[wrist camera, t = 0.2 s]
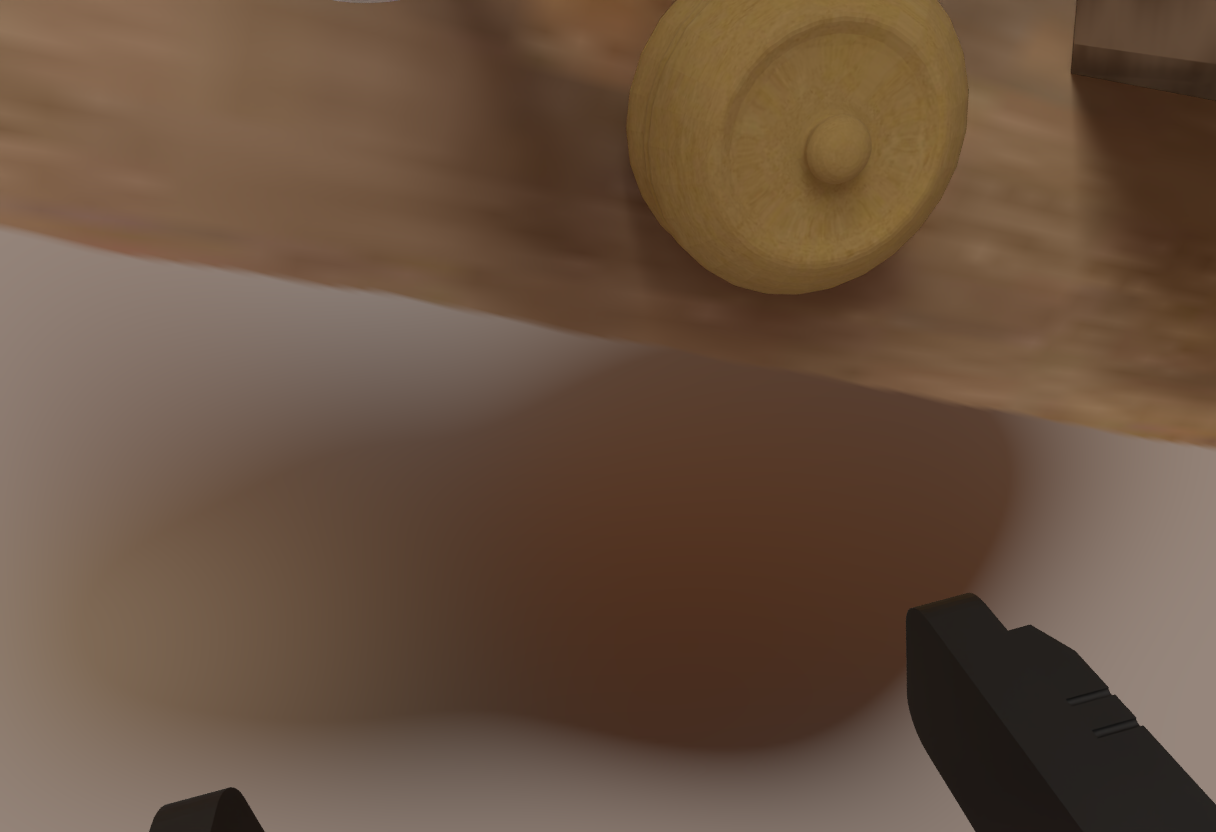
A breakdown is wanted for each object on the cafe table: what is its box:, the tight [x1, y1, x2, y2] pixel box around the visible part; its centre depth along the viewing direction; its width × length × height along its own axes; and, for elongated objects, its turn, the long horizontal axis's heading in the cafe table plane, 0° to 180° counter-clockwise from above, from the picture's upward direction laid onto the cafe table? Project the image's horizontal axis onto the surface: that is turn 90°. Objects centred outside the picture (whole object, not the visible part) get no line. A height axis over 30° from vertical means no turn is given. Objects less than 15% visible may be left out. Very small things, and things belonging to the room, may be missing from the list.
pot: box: [626, 0, 969, 295], centre depth 32 cm, size 12×12×10 cm
